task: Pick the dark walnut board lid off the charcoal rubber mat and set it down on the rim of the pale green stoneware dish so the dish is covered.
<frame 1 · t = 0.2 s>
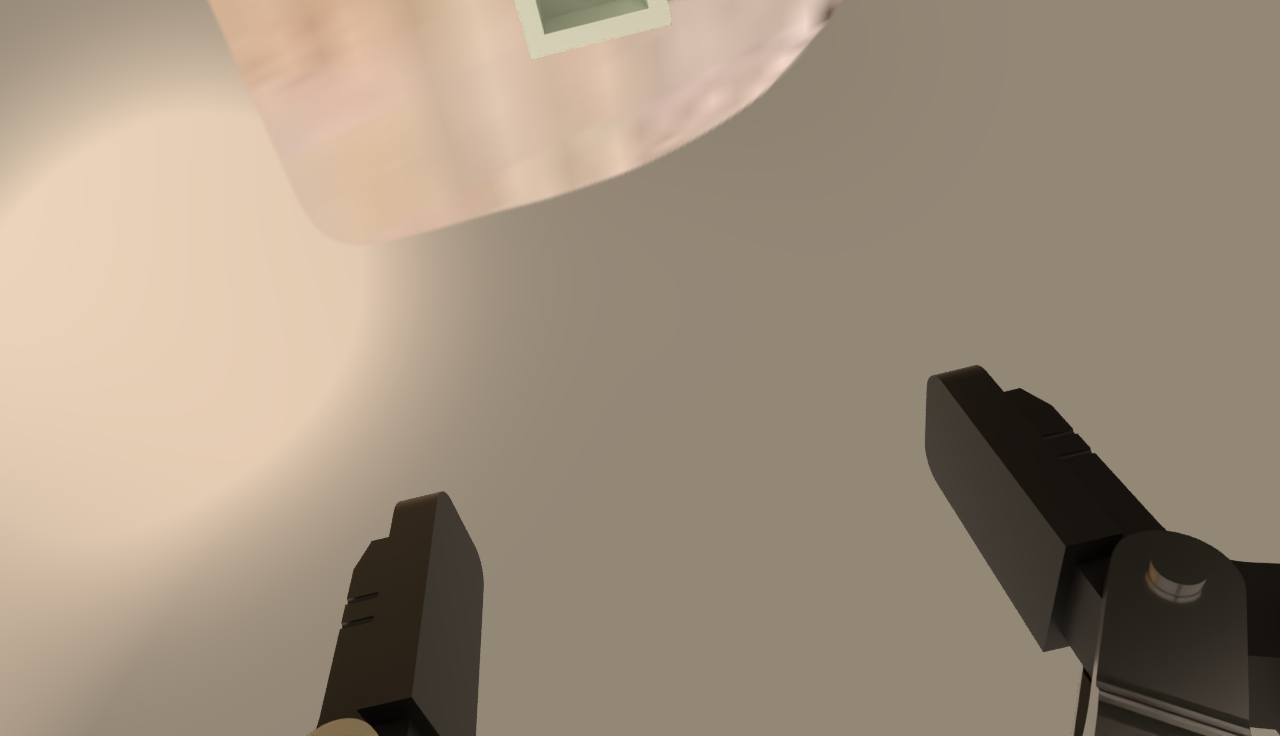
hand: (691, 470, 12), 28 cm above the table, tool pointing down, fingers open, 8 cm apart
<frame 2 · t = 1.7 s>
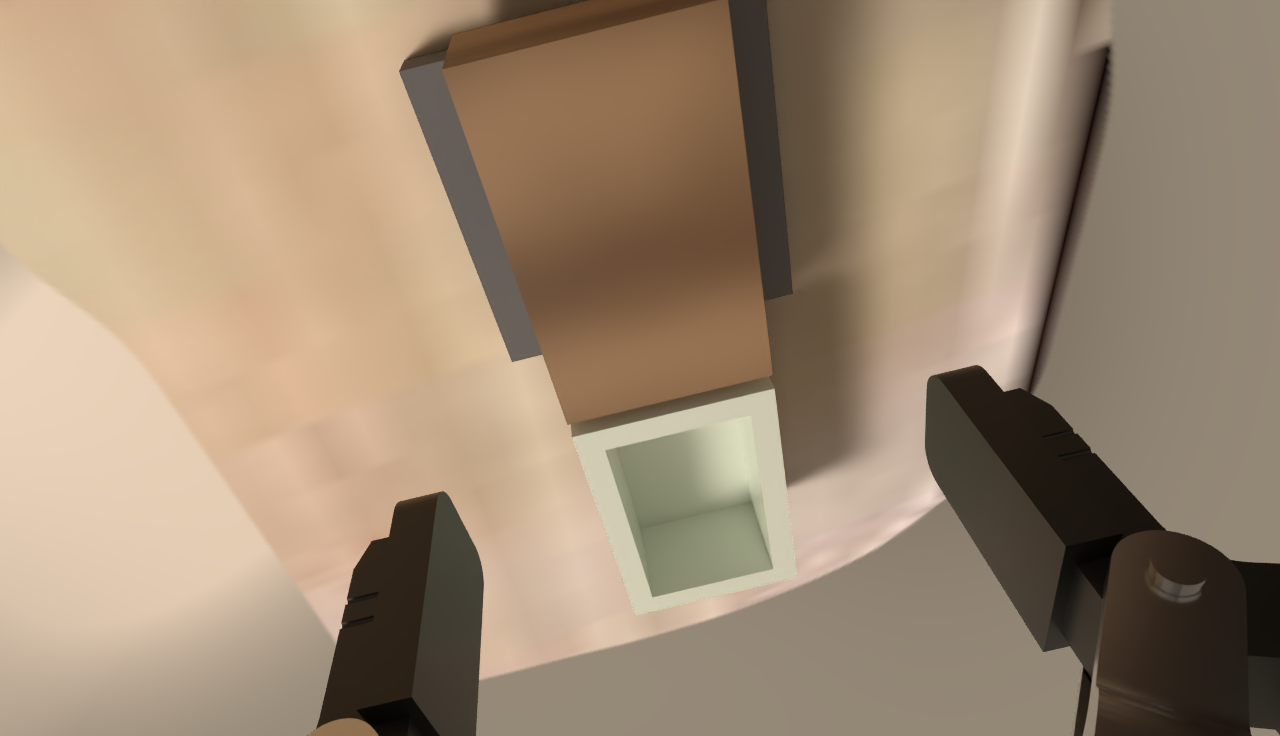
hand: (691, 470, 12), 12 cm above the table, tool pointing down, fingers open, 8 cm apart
dish: (676, 433, 28), on the table
mat: (617, 182, 22), on the table
lid: (620, 196, 21), point 1 cm above the table, touching mat
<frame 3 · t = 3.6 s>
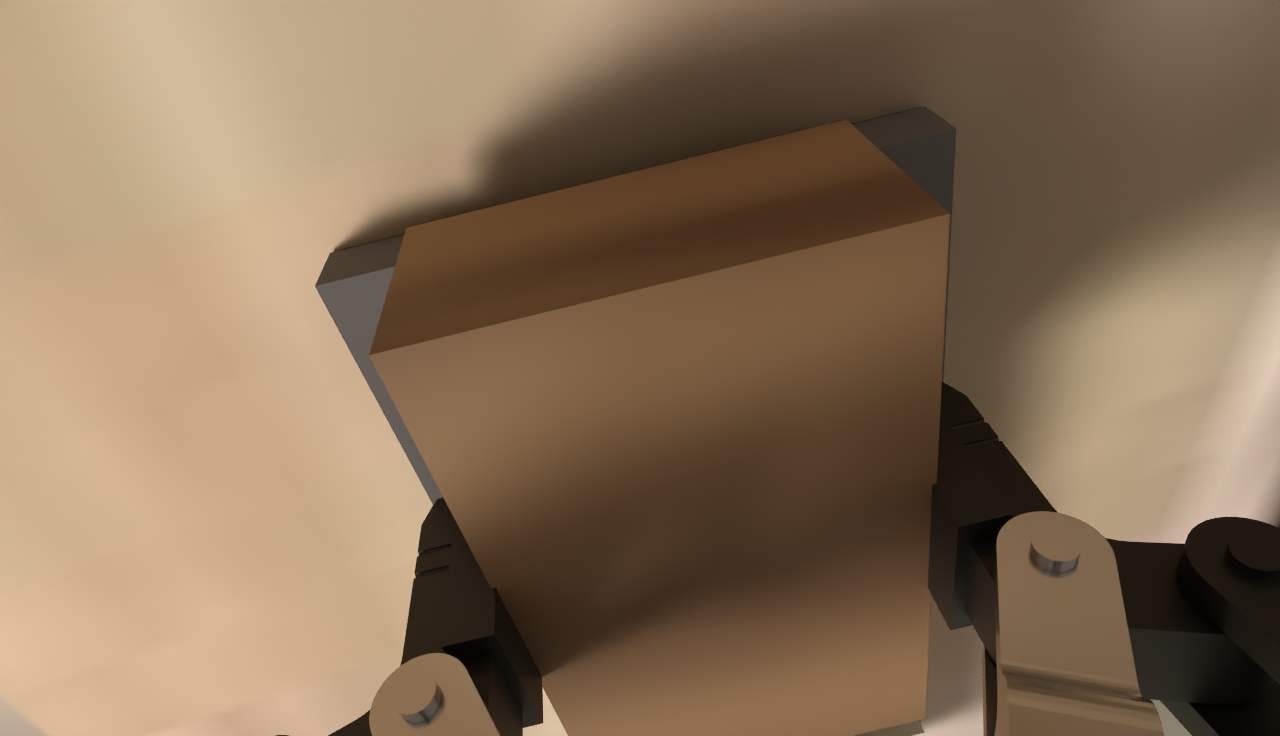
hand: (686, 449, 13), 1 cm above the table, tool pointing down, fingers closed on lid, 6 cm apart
dish: (742, 694, 20), on the table
mat: (677, 408, 14), on the table
lid: (686, 445, 13), point 1 cm above the table, touching gripper, mat
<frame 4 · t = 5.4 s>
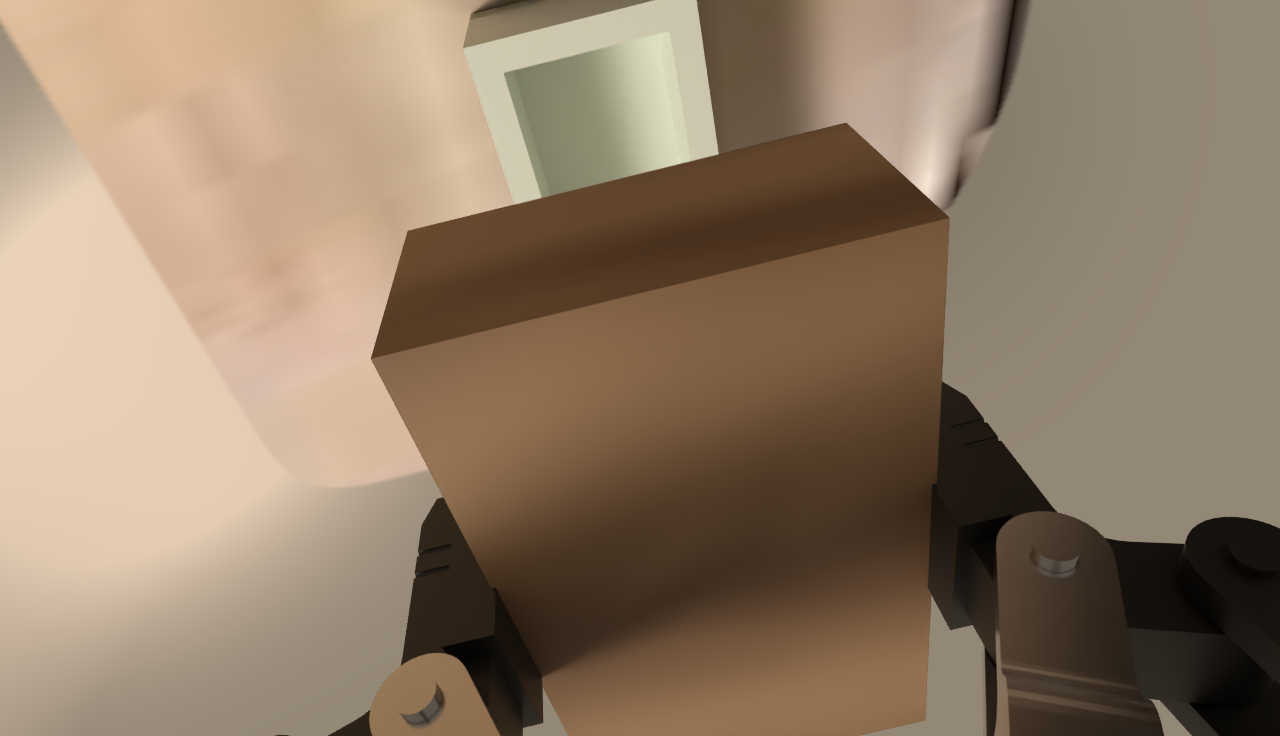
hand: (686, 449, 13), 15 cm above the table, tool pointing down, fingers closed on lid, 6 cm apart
dish: (604, 136, 25), on the table
lid: (687, 447, 13), point 15 cm above the table, touching gripper
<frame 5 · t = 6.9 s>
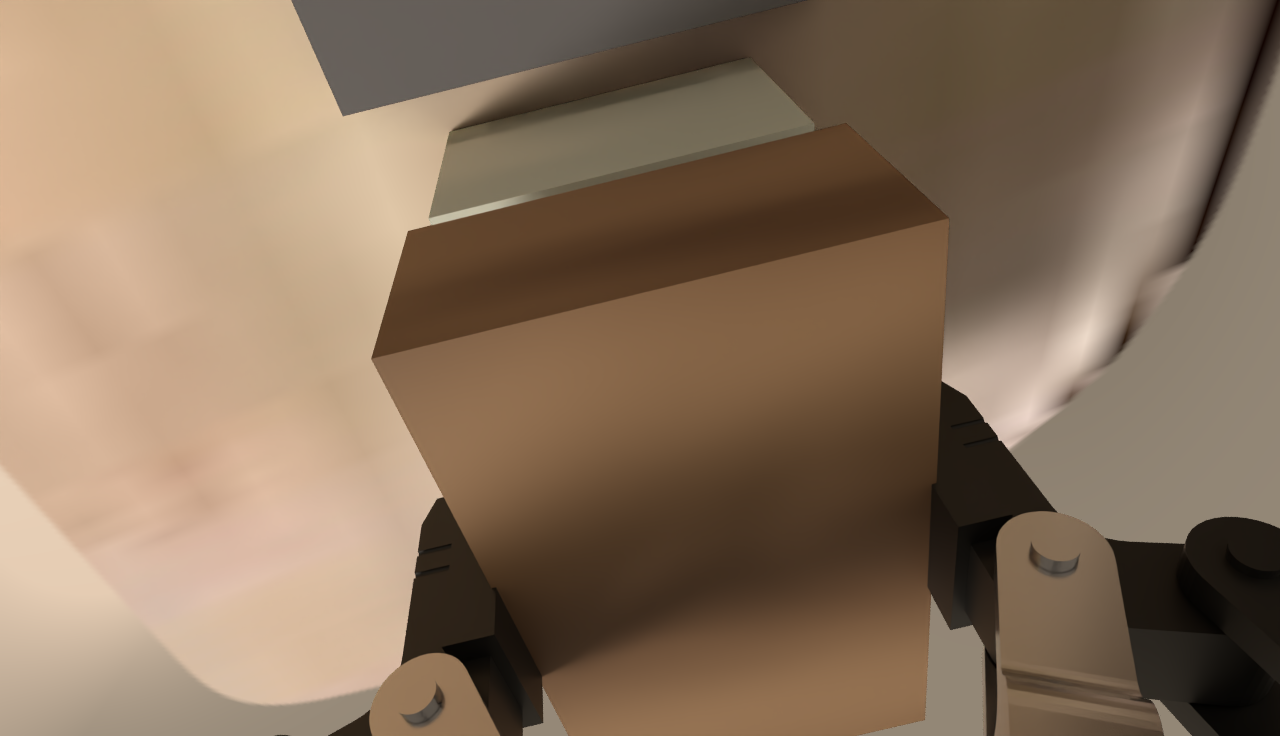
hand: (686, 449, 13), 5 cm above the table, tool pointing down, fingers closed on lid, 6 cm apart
dish: (644, 289, 17), on the table
lid: (687, 447, 13), point 5 cm above the table, touching gripper
when the fingers open (5 cm above the table, at t = 7.7 s): lid drops 1 cm, resting on dish.
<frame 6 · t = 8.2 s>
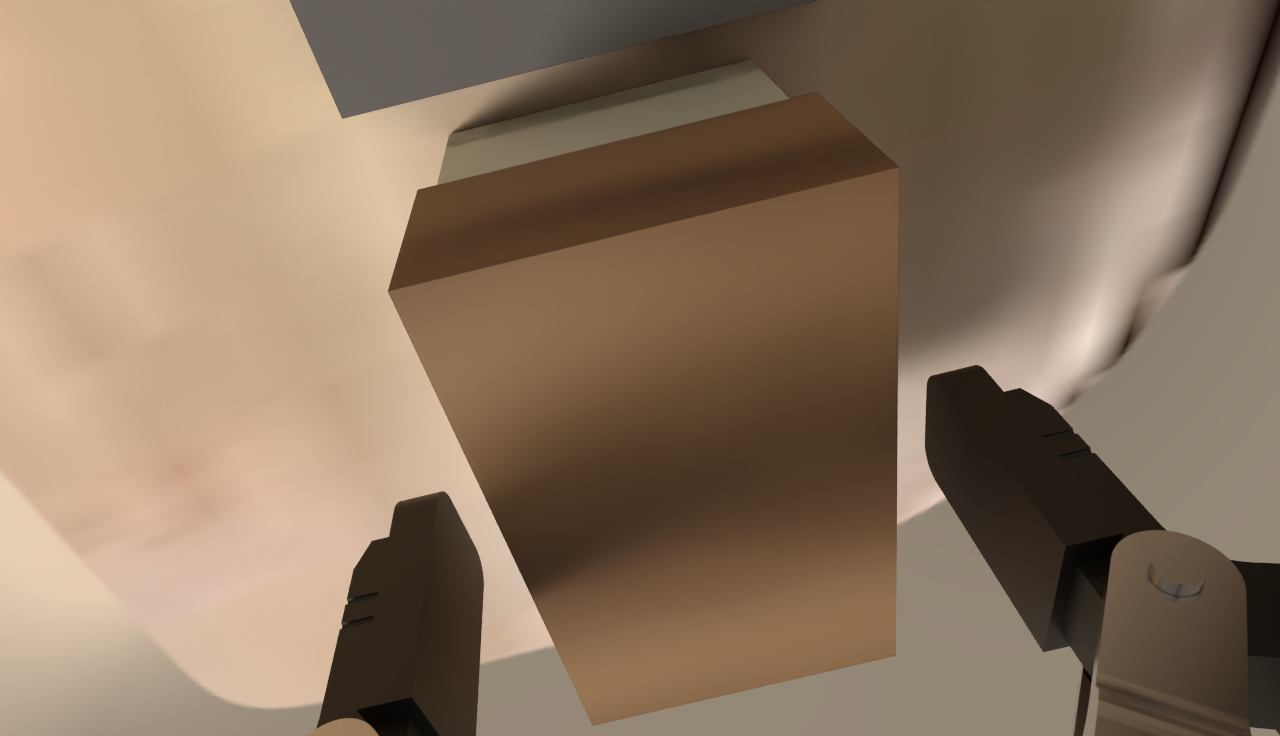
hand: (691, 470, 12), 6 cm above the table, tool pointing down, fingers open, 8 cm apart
dish: (645, 292, 17), on the table
lid: (674, 399, 14), point 4 cm above the table, touching dish
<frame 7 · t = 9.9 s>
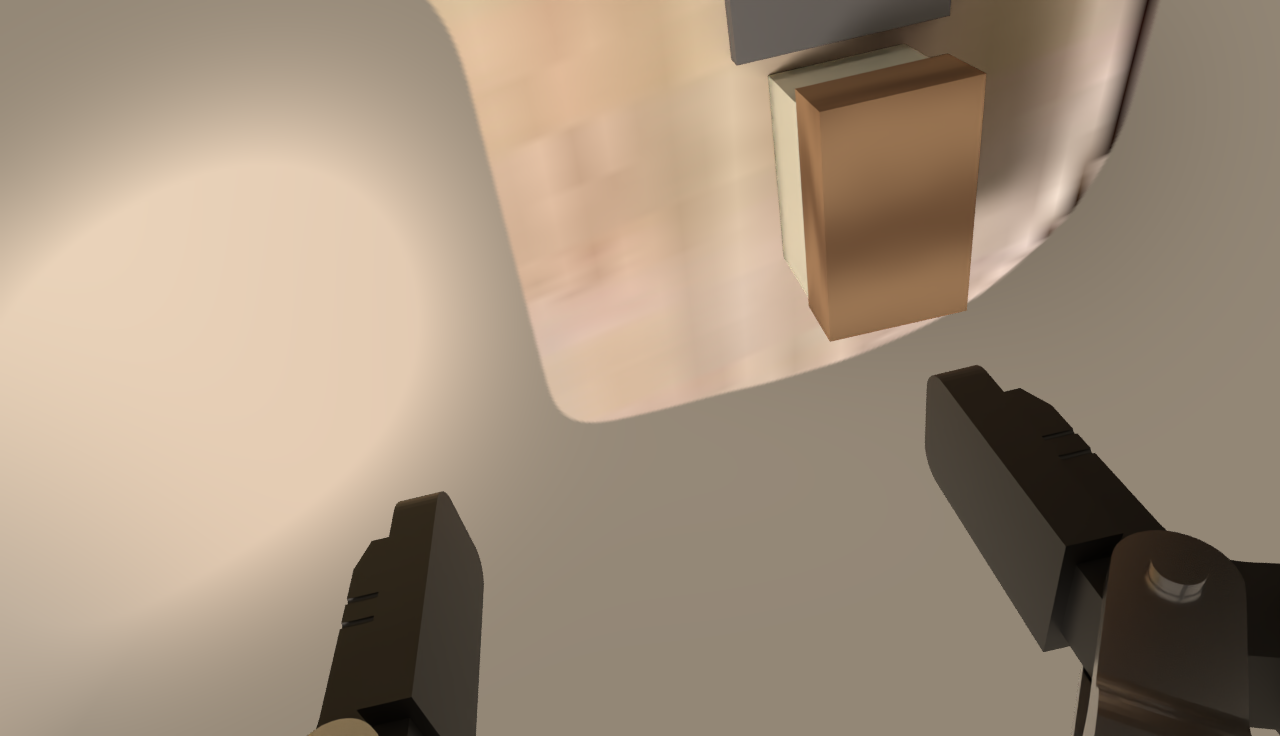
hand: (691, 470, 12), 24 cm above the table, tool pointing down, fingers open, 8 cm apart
dish: (839, 158, 35), on the table
lid: (871, 191, 32), point 4 cm above the table, touching dish
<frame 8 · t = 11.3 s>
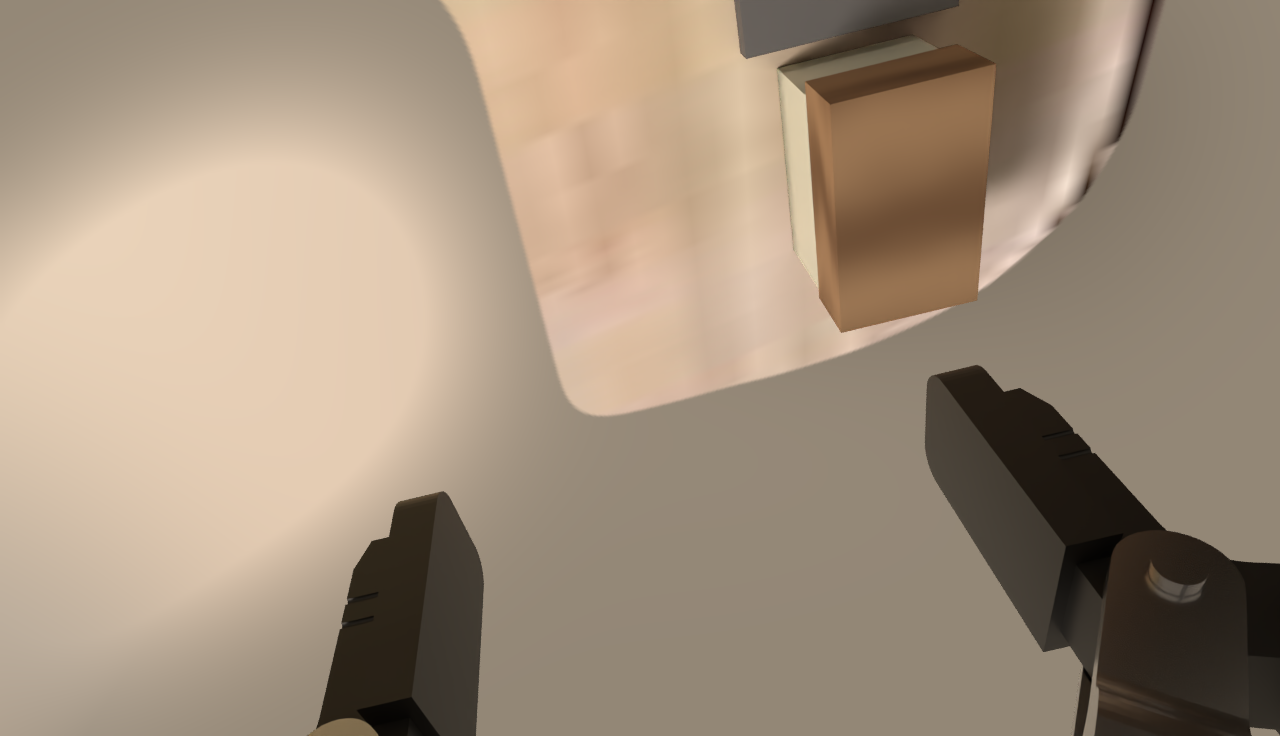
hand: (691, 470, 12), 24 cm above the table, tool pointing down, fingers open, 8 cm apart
dish: (848, 150, 35), on the table
lid: (881, 182, 32), point 4 cm above the table, touching dish
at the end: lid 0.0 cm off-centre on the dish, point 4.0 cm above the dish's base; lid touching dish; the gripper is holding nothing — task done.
